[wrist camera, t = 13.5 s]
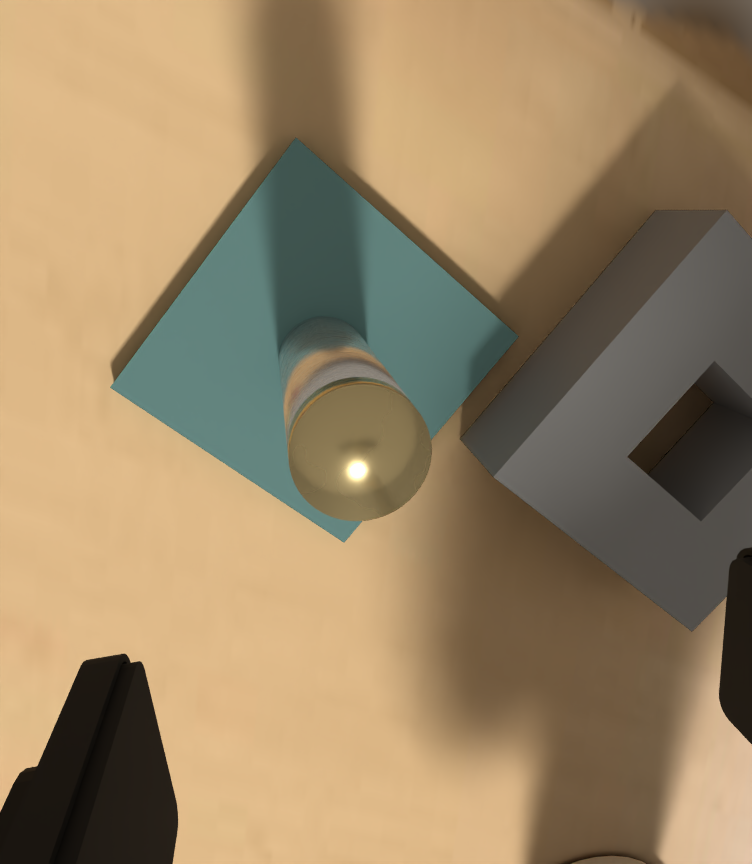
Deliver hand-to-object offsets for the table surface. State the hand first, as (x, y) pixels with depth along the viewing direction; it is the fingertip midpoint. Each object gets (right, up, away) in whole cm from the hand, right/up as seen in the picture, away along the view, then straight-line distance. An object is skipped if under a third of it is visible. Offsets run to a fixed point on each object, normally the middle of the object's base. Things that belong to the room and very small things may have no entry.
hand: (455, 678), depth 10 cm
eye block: (+13, +5, +24) cm, 27 cm away
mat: (-4, +7, +20) cm, 22 cm away
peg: (-4, +7, +19) cm, 21 cm away
